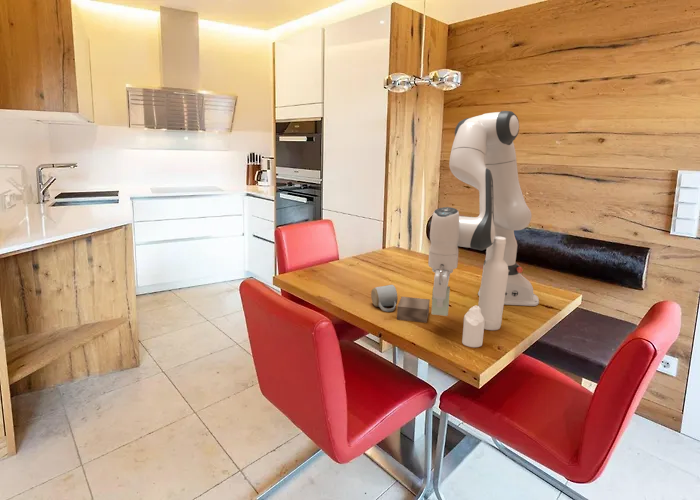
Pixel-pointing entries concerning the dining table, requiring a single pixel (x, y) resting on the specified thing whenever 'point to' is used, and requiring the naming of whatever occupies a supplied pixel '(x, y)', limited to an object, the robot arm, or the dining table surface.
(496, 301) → the bottle
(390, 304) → the ceramic mug
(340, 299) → the dining table surface
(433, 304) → the sage block
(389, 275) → the dining table surface
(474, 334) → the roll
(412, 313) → the walnut block
